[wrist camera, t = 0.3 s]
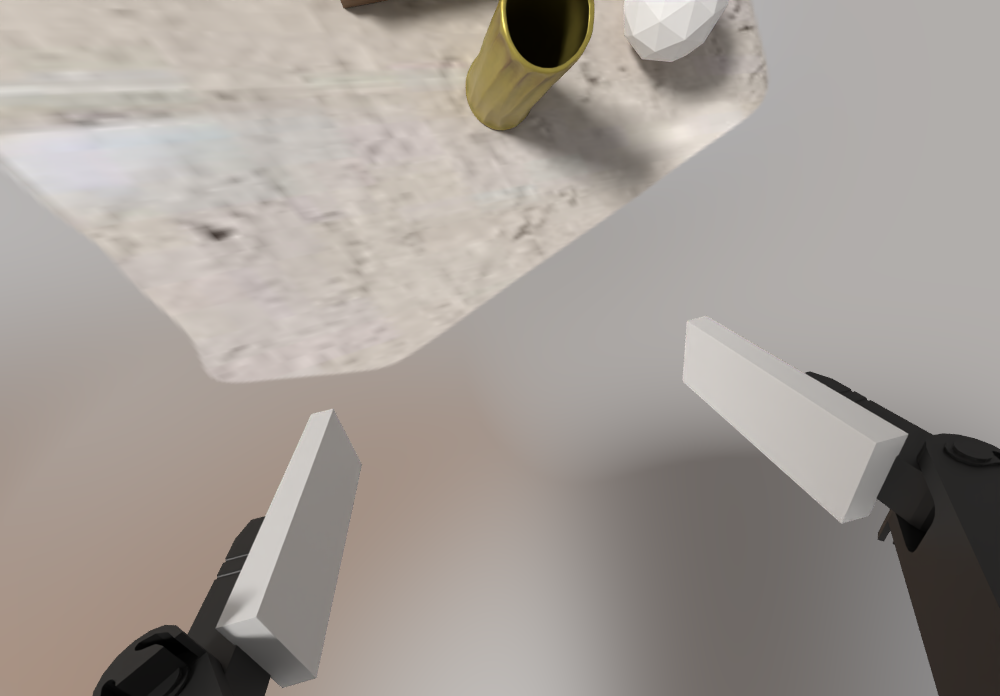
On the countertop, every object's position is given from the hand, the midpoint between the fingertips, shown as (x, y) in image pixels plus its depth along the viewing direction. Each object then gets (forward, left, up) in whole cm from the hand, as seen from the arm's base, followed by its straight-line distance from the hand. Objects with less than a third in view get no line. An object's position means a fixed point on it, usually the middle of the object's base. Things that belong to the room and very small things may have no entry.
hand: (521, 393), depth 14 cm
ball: (-17, +22, -26) cm, 38 cm away
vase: (-15, +7, -26) cm, 31 cm away
